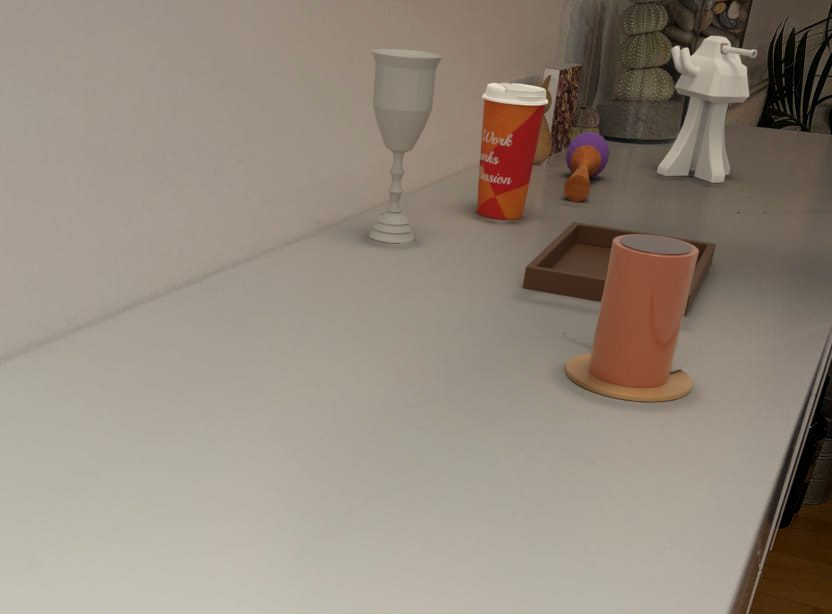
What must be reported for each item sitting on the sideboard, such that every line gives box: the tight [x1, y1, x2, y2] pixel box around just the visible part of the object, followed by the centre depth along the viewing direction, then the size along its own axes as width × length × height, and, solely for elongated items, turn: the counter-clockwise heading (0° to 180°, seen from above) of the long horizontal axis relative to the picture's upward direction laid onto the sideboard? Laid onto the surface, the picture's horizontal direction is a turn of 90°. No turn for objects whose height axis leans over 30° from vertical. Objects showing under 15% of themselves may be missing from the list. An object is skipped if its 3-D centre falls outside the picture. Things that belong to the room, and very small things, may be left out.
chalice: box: [368, 48, 443, 244], centre depth 115 cm, size 7×7×18 cm
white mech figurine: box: [656, 35, 758, 184], centre depth 157 cm, size 12×13×18 cm
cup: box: [588, 234, 699, 388], centre depth 84 cm, size 6×6×10 cm
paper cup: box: [476, 82, 549, 220], centre depth 129 cm, size 8×8×14 cm
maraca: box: [563, 131, 610, 203], centre depth 148 cm, size 6×6×20 cm
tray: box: [522, 221, 717, 317], centre depth 110 cm, size 22×16×3 cm
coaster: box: [565, 352, 693, 403], centre depth 87 cm, size 10×10×1 cm
